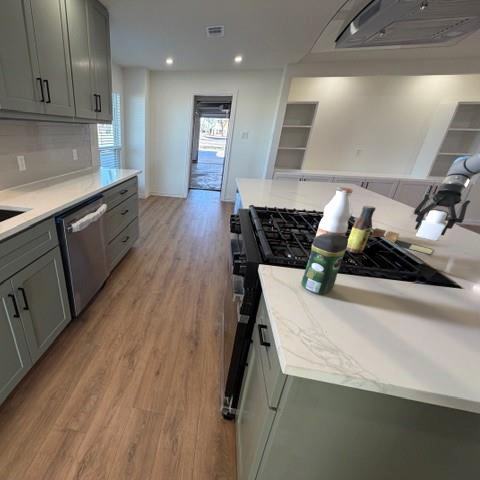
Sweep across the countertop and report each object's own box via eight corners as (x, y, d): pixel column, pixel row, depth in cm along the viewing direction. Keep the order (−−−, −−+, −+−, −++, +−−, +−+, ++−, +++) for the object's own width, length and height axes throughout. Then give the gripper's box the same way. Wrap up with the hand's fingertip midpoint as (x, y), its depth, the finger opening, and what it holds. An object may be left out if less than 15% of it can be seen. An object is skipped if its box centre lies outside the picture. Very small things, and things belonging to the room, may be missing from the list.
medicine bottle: (416, 232, 115) (428, 207, 110) (438, 237, 110) (452, 211, 105) (414, 236, 111) (427, 210, 106) (437, 241, 106) (451, 214, 101)
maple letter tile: (396, 241, 120) (399, 233, 119) (394, 243, 118) (397, 235, 116) (385, 238, 123) (388, 231, 122) (383, 240, 121) (386, 232, 119)
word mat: (433, 249, 113) (433, 248, 113) (429, 255, 107) (430, 254, 107) (373, 234, 129) (373, 233, 129) (367, 239, 123) (367, 238, 123)
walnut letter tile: (382, 238, 124) (386, 230, 122) (380, 240, 121) (383, 232, 120) (373, 235, 127) (375, 228, 125) (370, 237, 124) (373, 229, 123)
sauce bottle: (361, 255, 106) (378, 210, 98) (343, 251, 110) (359, 206, 102) (363, 250, 110) (380, 206, 102) (346, 246, 114) (361, 203, 106)
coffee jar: (312, 277, 88) (327, 228, 81) (336, 289, 82) (355, 236, 75) (295, 285, 84) (310, 233, 76) (319, 298, 78) (338, 243, 70)
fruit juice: (306, 254, 106) (325, 187, 95) (317, 248, 111) (336, 185, 100) (330, 263, 99) (354, 192, 88) (341, 257, 104) (364, 189, 93)
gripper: (422, 179, 114) (399, 219, 112) (492, 187, 100) (467, 233, 97) (419, 189, 120) (397, 228, 117) (485, 198, 105) (462, 242, 102)
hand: (429, 230), depth 107 cm, fingers closed on medicine bottle, 7 cm apart
